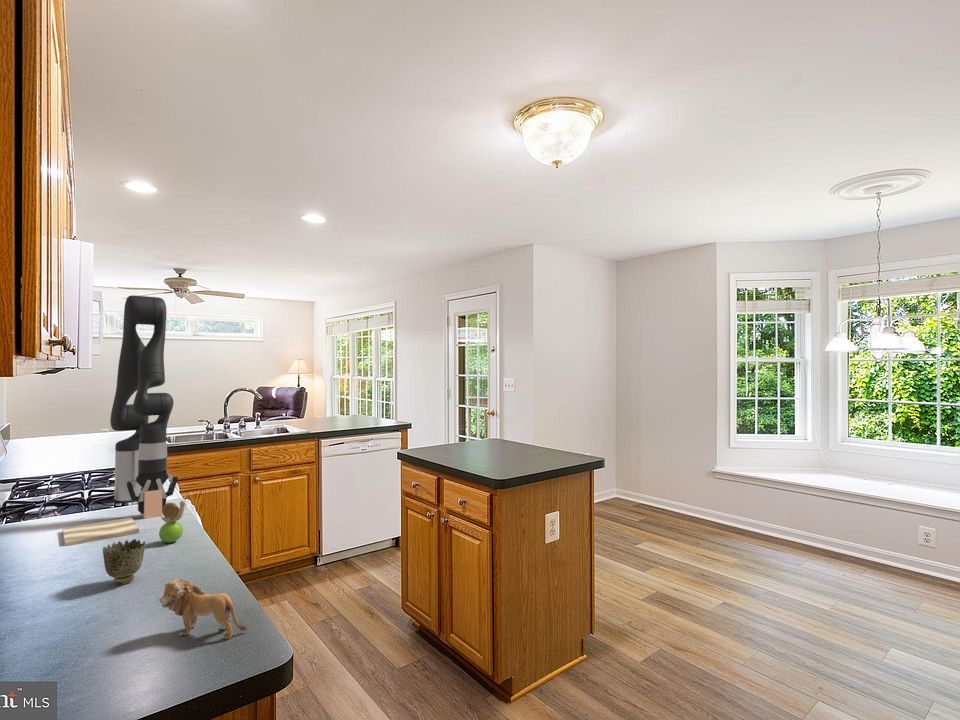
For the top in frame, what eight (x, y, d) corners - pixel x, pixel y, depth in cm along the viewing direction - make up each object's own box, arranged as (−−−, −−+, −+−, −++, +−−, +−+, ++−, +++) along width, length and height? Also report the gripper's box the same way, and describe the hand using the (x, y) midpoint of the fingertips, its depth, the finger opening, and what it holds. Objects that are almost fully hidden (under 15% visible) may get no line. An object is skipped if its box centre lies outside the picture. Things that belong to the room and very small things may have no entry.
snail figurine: (178, 545, 129) (179, 499, 130) (154, 545, 129) (154, 499, 130) (191, 538, 135) (191, 494, 135) (167, 538, 135) (168, 493, 135)
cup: (151, 579, 108) (152, 542, 109) (112, 592, 102) (113, 553, 102) (133, 572, 112) (134, 536, 112) (95, 584, 106) (96, 546, 106)
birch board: (62, 531, 140) (62, 528, 140) (131, 520, 151) (131, 517, 151) (64, 545, 129) (64, 542, 129) (139, 532, 140) (139, 529, 140)
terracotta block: (141, 515, 156) (142, 489, 156) (159, 512, 159) (159, 487, 159) (144, 518, 153) (144, 492, 153) (161, 515, 156) (162, 490, 156)
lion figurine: (153, 640, 84) (154, 586, 84) (172, 624, 89) (173, 573, 90) (240, 640, 84) (241, 586, 84) (254, 624, 90) (255, 573, 90)
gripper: (176, 452, 164) (175, 505, 164) (123, 457, 154) (122, 513, 154) (181, 455, 158) (180, 510, 158) (126, 461, 149) (125, 518, 148)
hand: (151, 511), depth 156 cm, fingers closed on terracotta block, 4 cm apart
